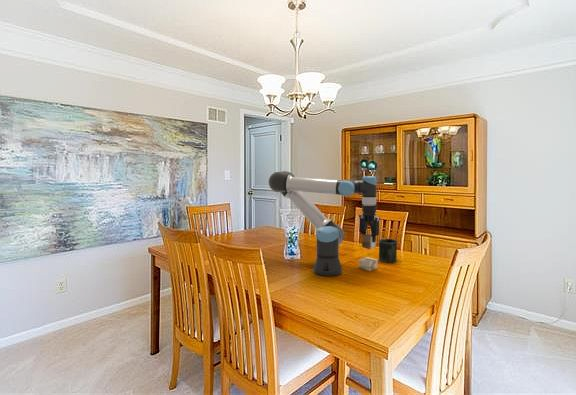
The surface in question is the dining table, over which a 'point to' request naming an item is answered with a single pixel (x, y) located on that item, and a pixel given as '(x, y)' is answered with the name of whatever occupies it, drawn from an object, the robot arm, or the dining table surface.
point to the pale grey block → (368, 263)
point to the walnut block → (366, 241)
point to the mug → (388, 250)
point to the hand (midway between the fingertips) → (368, 246)
